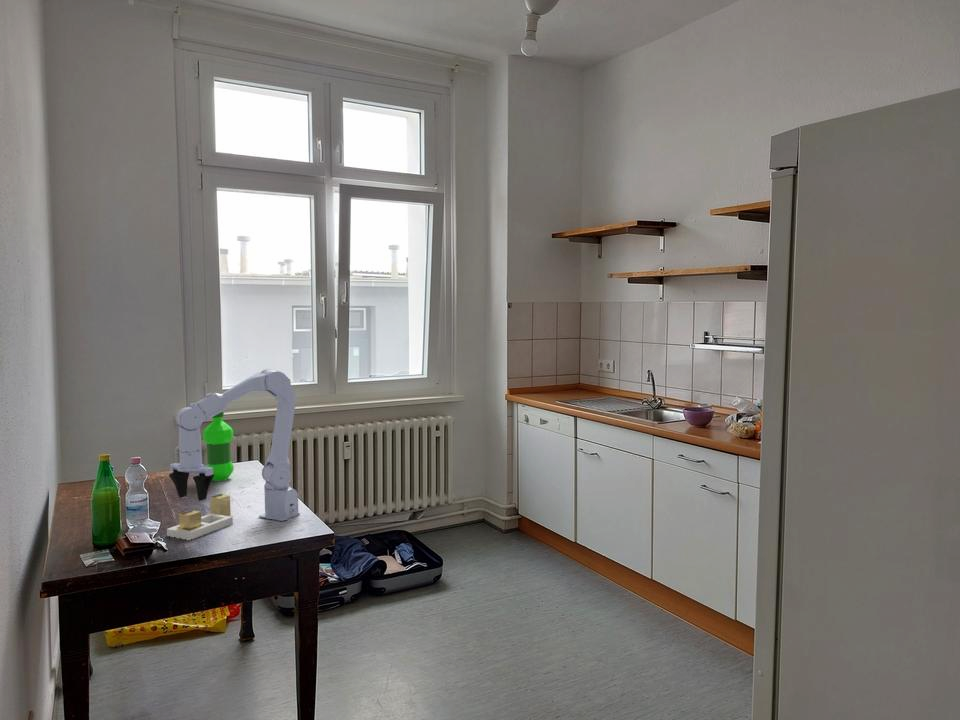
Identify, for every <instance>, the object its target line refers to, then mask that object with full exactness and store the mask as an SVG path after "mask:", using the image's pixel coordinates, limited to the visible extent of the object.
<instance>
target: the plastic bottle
mask: <svg viewBox="0 0 960 720" xmlns="http://www.w3.org/2000/svg"><path fill="white" fill-rule="evenodd" d="M224 411H225V410H224ZM224 411H222V412H220V413H219V414H217V415H215V416H213V417H212V422H210V424H208V425H207V426H206V427H205V428H204V429H203V431H202V440H203V442H204V443H205V444H206V455H207V456H206V459H207V460H206V461H207V463H206V465H205V466H208V467H212V468H213V474H214V477H213V479H212V481H213V480H216V481H215V482H220V481H219V480H223V481H226V480H225V479H227V480H228V478H229V477H230V476H232V474H233V473H234V470H235V469H234V468H235V467H234V464H233V462H232V460H231V459H232V458H231V457H232V456H231V441H232V440H233V438H234V430H233V428H232V427H231V426H230V425H229V424H228V423H227V422H225V421H223V417H225V415H224V414H225V413H224Z"/></svg>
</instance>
